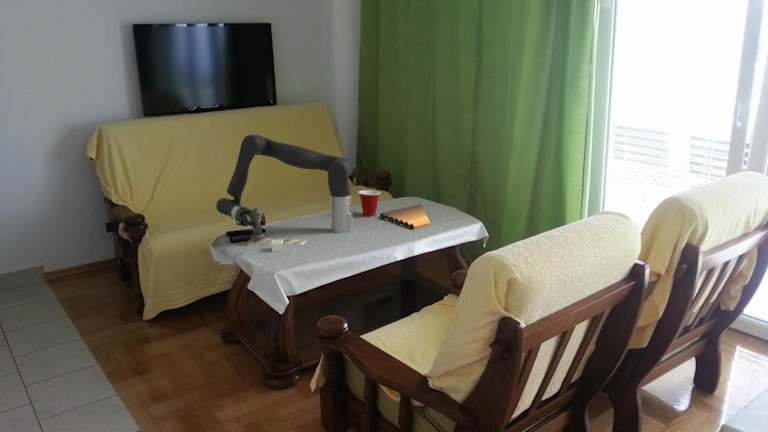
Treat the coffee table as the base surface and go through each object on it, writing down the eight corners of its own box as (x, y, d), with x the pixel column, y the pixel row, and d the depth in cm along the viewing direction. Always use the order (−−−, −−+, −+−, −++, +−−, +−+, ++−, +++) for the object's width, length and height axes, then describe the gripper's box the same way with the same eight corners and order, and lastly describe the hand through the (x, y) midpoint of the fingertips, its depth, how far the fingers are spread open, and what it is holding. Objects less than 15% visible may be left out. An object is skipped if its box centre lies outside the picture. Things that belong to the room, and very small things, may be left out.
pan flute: (418, 209, 313) (380, 218, 298) (418, 203, 312) (379, 212, 297) (453, 220, 295) (414, 231, 280) (453, 214, 294) (414, 224, 279)
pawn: (265, 235, 264) (263, 206, 260) (261, 239, 259) (259, 210, 255) (254, 234, 264) (252, 206, 261) (250, 238, 260) (248, 209, 256)
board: (310, 242, 263) (310, 239, 263) (305, 248, 255) (305, 245, 255) (252, 239, 267) (252, 236, 266) (245, 245, 259) (245, 242, 259)
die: (283, 249, 254) (282, 239, 252) (283, 253, 250) (283, 242, 248) (272, 250, 253) (271, 240, 252) (272, 254, 249) (271, 243, 247)
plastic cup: (384, 214, 304) (384, 190, 300) (372, 219, 295) (372, 195, 292) (366, 210, 309) (366, 187, 306) (354, 216, 301) (354, 192, 297)
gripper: (227, 209, 266) (243, 218, 253) (257, 204, 274) (274, 213, 261) (228, 225, 268) (244, 236, 255) (258, 220, 276) (275, 229, 263)
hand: (259, 224), depth 258 cm, fingers closed on pawn, 3 cm apart
